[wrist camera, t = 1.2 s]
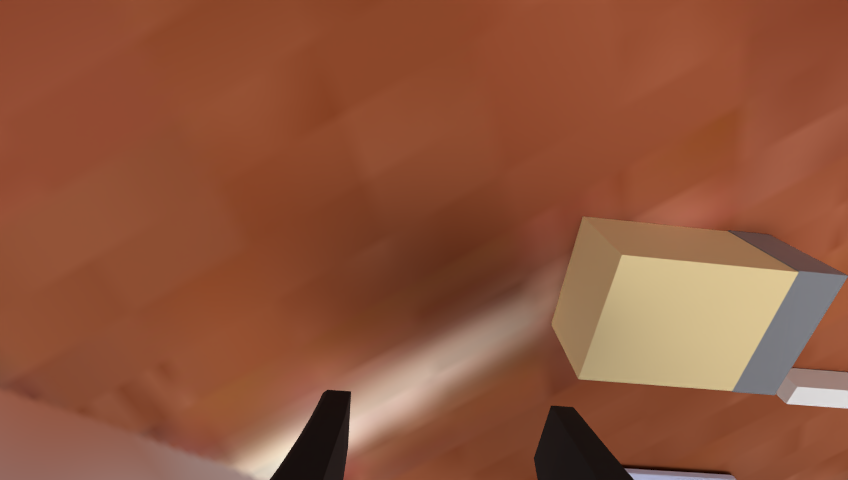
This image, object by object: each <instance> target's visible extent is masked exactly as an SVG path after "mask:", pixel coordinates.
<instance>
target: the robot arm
mask: <svg viewBox="0 0 848 480" xmlns="http://www.w3.org/2000/svg"><path fill="white" fill-rule="evenodd" d="M350 400H351V392H350V391H336V390H327V391H325V392H324V393H323V394H322V396H321V398H320V401H319V403H318V405H317V407H316V408H315V410H314V412H313V414H312V416H311V418H310V419H309V421H308V423H307V424H306V426H305V428H304V429H303V431H302V433H301V434H300V436H299V438H298V439H297V441H296V442H295V444H294V445H293V447H292V448H291V450H290V451H289V453H288V454H287V456H286V457H285V459H284V461H283V462H282V463H281V465H280V466H279V468H278V469H277V471H276V472H275V473H274V475H273V476H272V477H271V479H270V480H343V477H344V470H345V464H346V457H347V450H348V437H349V418H350ZM534 461H535V467H536V472H537V478H538V480H736V479H735V477H734V476H732V475H725V474H709V473H693V472H676V471H660V470H644V469H627V468H623V466H622V465H621V464H620V463H619V462H618V461H617V459H616V458H615V457H614V456H613V455H612V453H611V452H610V451H609V450H608V449H607V447H606V446H605V445H604V444H603V443H602V441H601V440H600V439H599V438H598V437H597V435H596V434H595V433H594V432H593V430H592V429H591V428H590V427H589V426H588V424H587V423H586V422H585V421H584V420H583V418H582V417H581V416H580V415H579V414H578V412H577V411H576V410H575V409H574V408H573V407H562V406H551V408H550V411H549V414H548V417H547V420H546V423H545V426H544V429H543V432H542V435H541V438H540V441H539V444H538V447H537V450H536V454H535V457H534Z"/></svg>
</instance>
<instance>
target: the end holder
mask: <svg viewBox="0 0 848 480" xmlns="http://www.w3.org/2000/svg"><path fill="white" fill-rule="evenodd" d="M775 394H777V395H778V396H779V397H780V398H781V399H782V400H783V401H784V402H785V403H786V404H795V405H809V406H822V407H836V408H848V372H837V371H824V370H812V369H799V368H791V369H790V371H789V372H788V374H787V376H786V377H785V379H784V380H783V382H782V384H781V385H780V387H779V389H778V390H777V392H776V393H775Z"/></svg>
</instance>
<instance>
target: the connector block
mask: <svg viewBox="0 0 848 480" xmlns="http://www.w3.org/2000/svg"><path fill="white" fill-rule="evenodd" d="M847 277H848V275H846V274H844V273H842V272H840V271H838V270H836V269H834V268H832V267H830V266H828V265H827V264H825V263H823V262H821V261H819V260H817V259H815V258H813V257H811V256H809V255H807V254H805V253H803V252H802V251H800V250H798V249H796V248H794V247H792V246H790V245H788V244H786V243H784V242H782V241H780V240H778V239H777V238H775V237H773V236H771V235H769V234H759V233H750V232H740V231H730V230H729V231H720V230H710V229H701V228H691V227H681V226H672V225H662V224H652V223H642V222H633V221H623V220H613V219H604V218H594V217H584V216H583V218H582V221H581V225H580V228H579V232H578V235H577V238H576V242H575V245H574V248H573V252H572V255H571V259H570V262H569V265H568V269H567V272H566V276H565V279H564V282H563V286H562V289H561V292H560V296H559V299H558V303H557V306H556V309H555V313H554V316H553V320H552V323H551V325H552V327H553V329H554V331H555V333H556V335H557V337H558V339H559V341H560V343H561V345H562V347H563V349H564V351H565V353H566V355H567V357H568V359H569V361H570V363H571V365H572V367H573V369H574V371H575V373H576V375H577V377H578V379H583V380H596V381H609V382H622V383H635V384H648V385H661V386H674V387H687V388H700V389H713V390H726V391H732V392H741V393H754V394H767V395H775V393H776V392H777V390H778V389H779V387H780V385H781V384H782V382H783V380H784V379H785V377H786V376H787V374H788V372H789V371H790V369H791V368H792V366H793V364H794V363H795V361H796V359H797V358H798V356H799V355H800V353H801V351H802V350H803V348H804V346H805V345H806V343H807V342H808V340H809V338H810V337H811V335H812V334H813V332H814V330H815V329H816V327H817V325H818V324H819V322H820V321H821V319H822V317H823V316H824V314H825V313H826V311H827V309H828V308H829V306H830V304H831V303H832V301H833V300H834V298H835V296H836V295H837V293H838V292H839V290H840V288H841V287H842V285H843V283H844V282H845V280H846V279H847Z"/></svg>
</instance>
